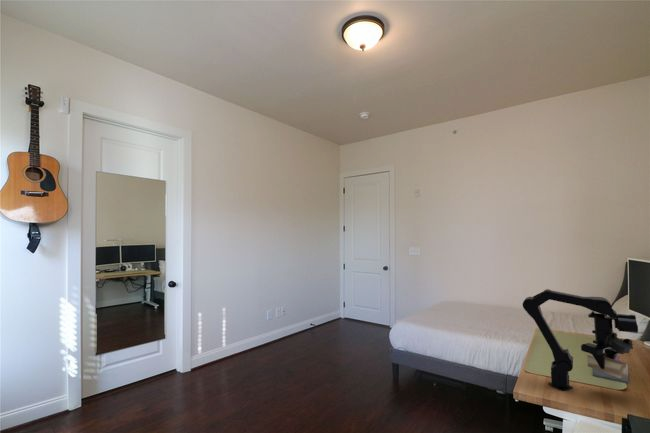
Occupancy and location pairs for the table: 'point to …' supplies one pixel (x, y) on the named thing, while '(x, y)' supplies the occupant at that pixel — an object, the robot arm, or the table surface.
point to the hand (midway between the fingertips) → (606, 368)
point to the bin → (608, 376)
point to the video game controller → (617, 358)
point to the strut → (609, 366)
